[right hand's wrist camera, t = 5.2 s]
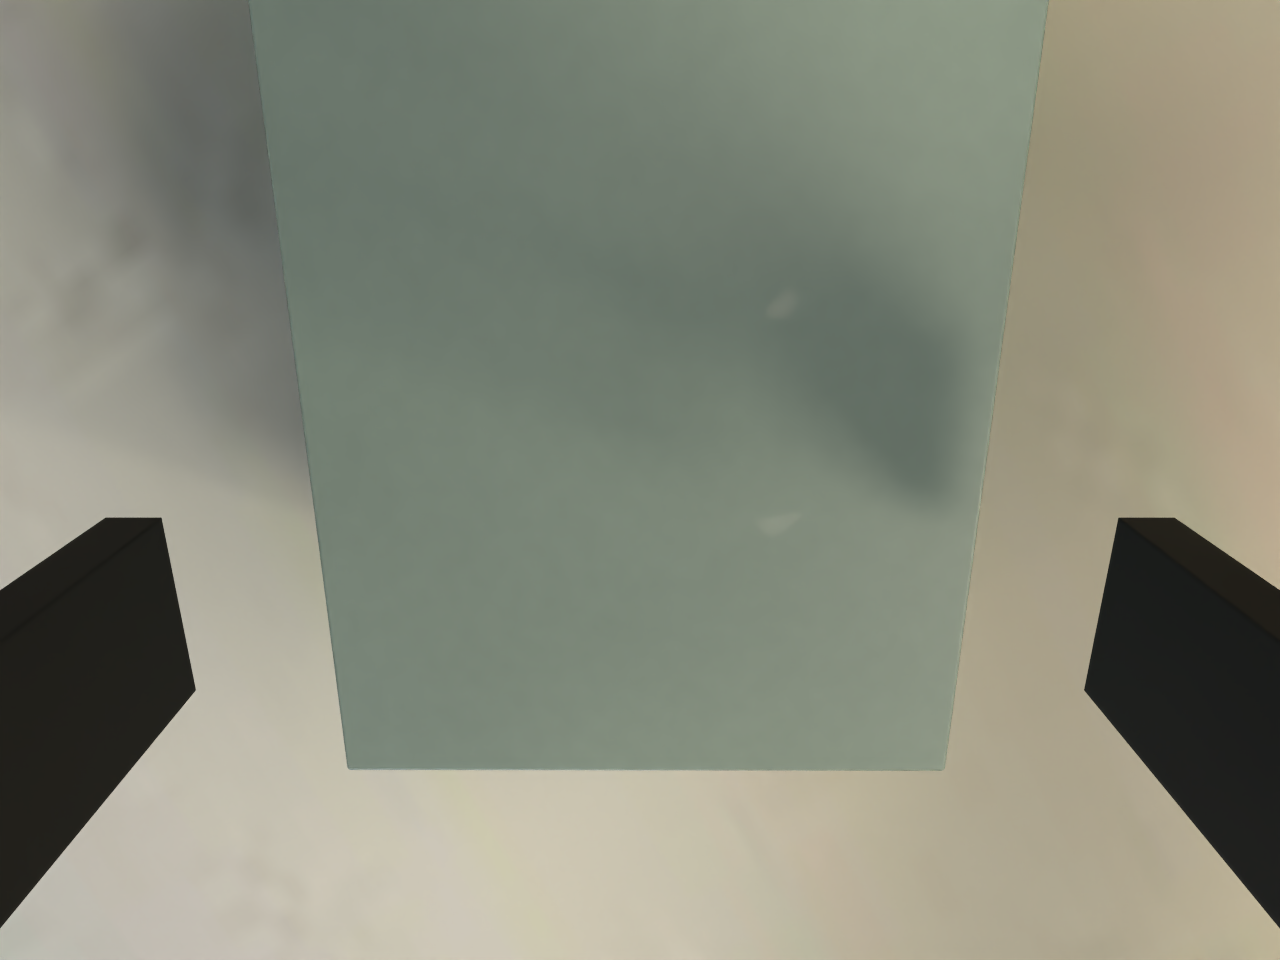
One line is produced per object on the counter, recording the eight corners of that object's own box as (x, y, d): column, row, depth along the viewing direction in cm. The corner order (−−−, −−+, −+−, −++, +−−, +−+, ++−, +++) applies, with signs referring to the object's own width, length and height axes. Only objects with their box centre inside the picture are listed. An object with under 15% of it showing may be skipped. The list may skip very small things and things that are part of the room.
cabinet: (389, -195, 20) (183, -485, 11) (903, -195, 20) (1116, -487, 11) (448, 562, 26) (346, 771, 17) (841, 562, 26) (945, 772, 17)
